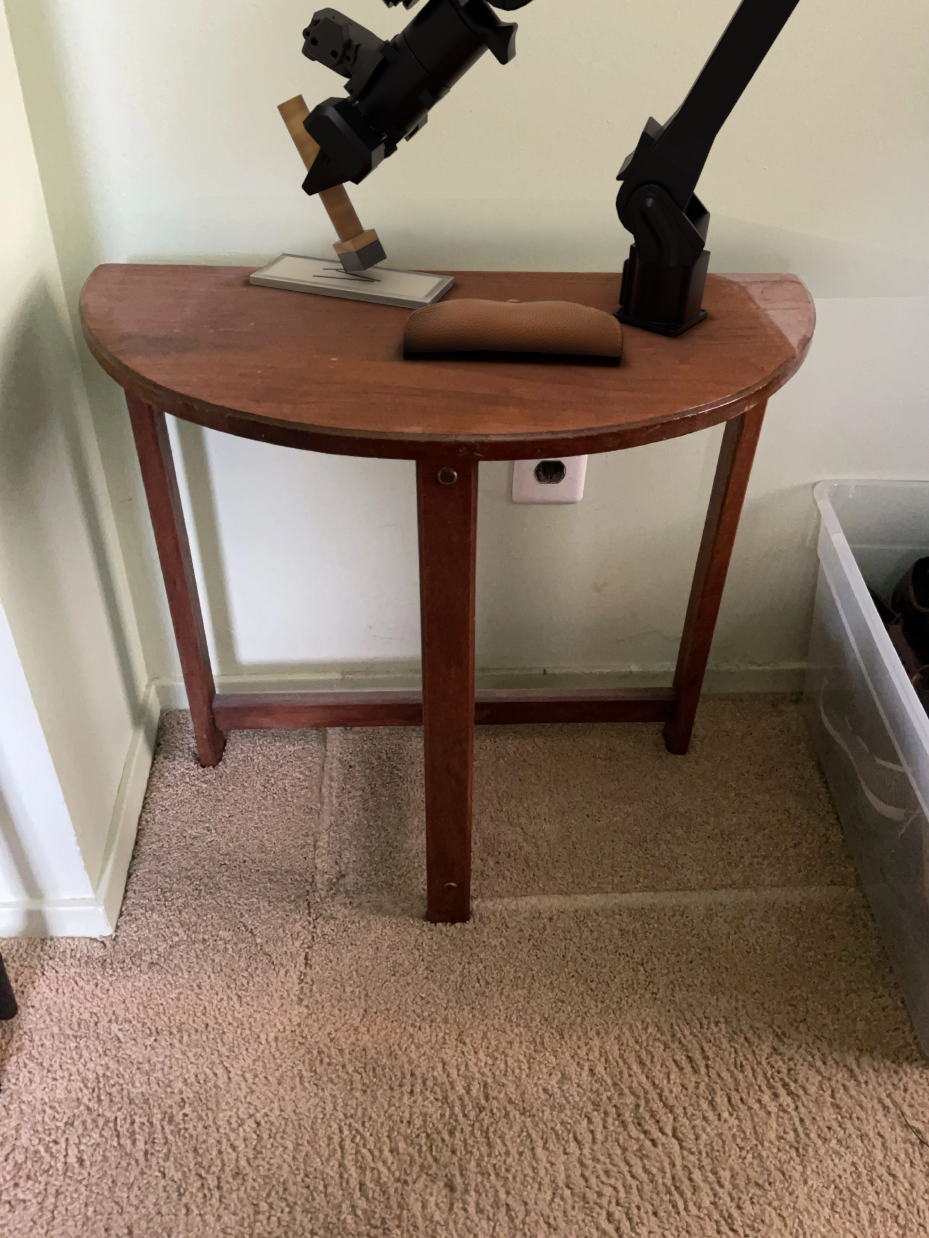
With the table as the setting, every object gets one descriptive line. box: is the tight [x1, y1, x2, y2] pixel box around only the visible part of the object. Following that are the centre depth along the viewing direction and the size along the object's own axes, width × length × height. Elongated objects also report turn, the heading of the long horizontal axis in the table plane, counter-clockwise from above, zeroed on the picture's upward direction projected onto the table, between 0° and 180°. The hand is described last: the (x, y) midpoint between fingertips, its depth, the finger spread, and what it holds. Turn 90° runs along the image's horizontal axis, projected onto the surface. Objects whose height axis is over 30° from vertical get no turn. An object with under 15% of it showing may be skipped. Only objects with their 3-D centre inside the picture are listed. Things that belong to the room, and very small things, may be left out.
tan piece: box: [276, 93, 388, 272], centre depth 89 cm, size 5×3×15 cm, turn 29°
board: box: [249, 252, 454, 310], centre depth 94 cm, size 18×7×1 cm, turn 71°
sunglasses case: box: [402, 297, 624, 363], centre depth 83 cm, size 18×7×7 cm, turn 89°
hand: (310, 187), depth 90 cm, fingers closed on tan piece, 2 cm apart
